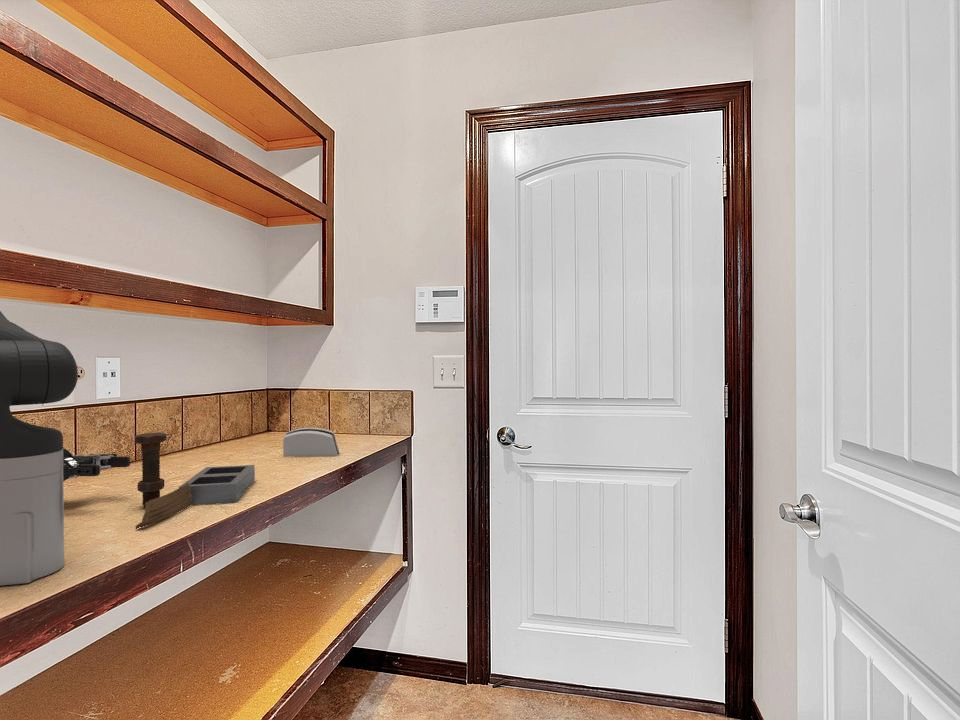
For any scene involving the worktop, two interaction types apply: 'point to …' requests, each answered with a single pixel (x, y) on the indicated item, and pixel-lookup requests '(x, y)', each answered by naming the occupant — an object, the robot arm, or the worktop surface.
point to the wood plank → (166, 506)
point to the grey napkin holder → (310, 442)
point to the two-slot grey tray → (220, 484)
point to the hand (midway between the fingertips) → (114, 465)
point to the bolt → (150, 465)
